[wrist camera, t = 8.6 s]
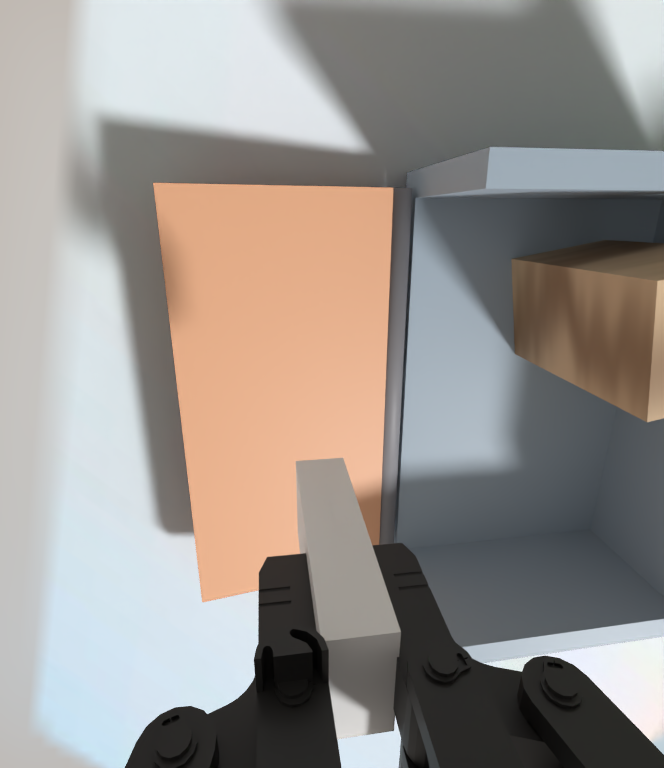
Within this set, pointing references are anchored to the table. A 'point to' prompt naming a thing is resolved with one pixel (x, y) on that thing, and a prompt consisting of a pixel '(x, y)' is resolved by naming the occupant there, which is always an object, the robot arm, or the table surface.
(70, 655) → the table surface
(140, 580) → the table surface
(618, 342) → the wooden block
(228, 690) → the table surface
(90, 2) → the table surface
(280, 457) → the panel
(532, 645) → the box
